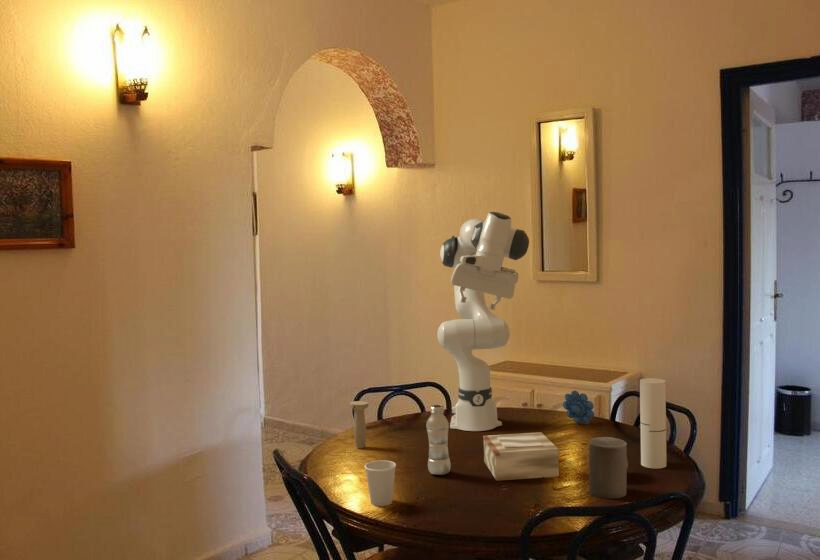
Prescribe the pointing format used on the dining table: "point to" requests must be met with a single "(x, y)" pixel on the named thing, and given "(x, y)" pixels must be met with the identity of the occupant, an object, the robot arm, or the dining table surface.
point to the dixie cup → (380, 481)
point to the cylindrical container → (653, 422)
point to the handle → (359, 422)
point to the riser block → (521, 456)
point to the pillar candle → (608, 467)
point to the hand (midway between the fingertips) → (477, 305)
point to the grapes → (578, 407)
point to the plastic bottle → (438, 441)
